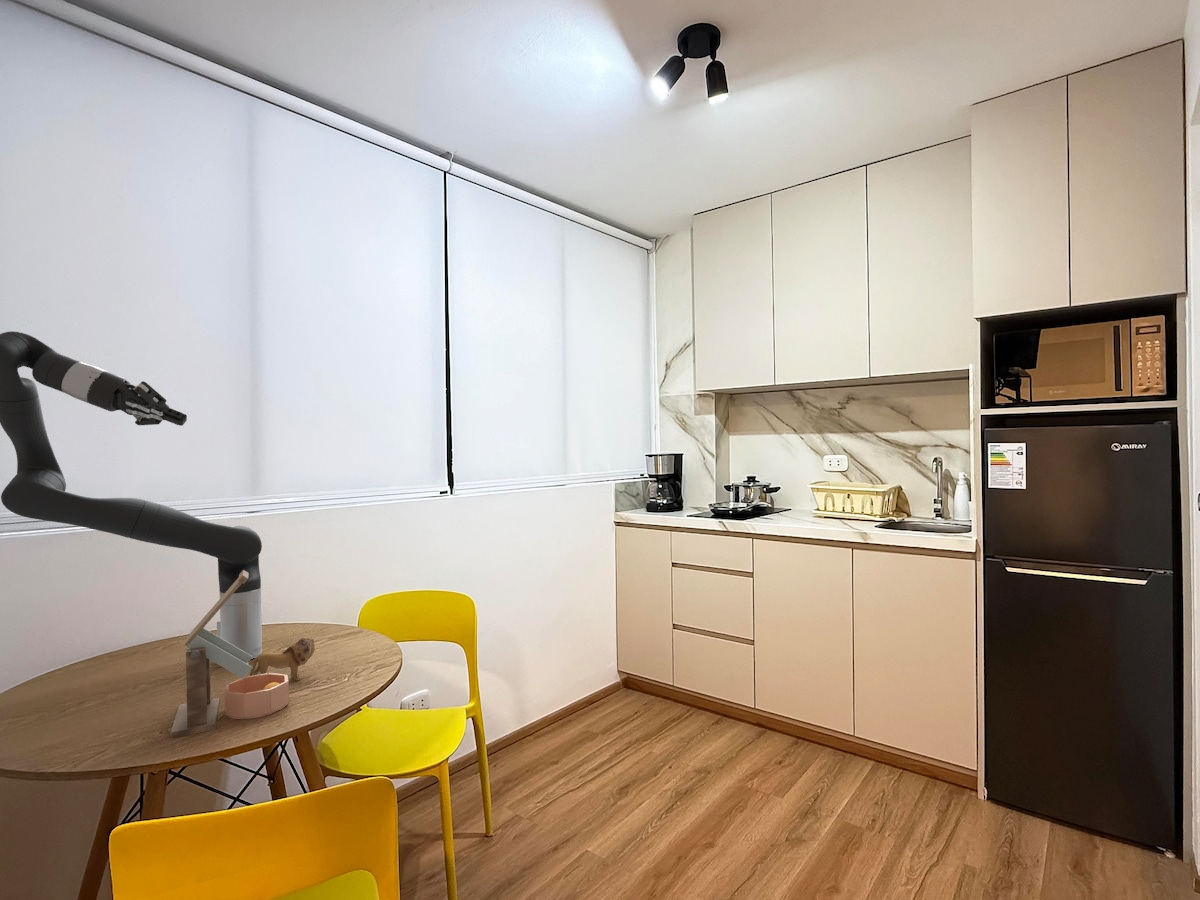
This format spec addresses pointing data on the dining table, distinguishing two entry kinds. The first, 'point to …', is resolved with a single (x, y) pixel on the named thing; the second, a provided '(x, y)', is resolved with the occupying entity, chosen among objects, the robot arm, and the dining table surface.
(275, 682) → the ball
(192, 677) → the stand
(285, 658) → the lion figurine
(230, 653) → the tipping tray
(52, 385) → the robot arm
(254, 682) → the bowl
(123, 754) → the dining table surface
